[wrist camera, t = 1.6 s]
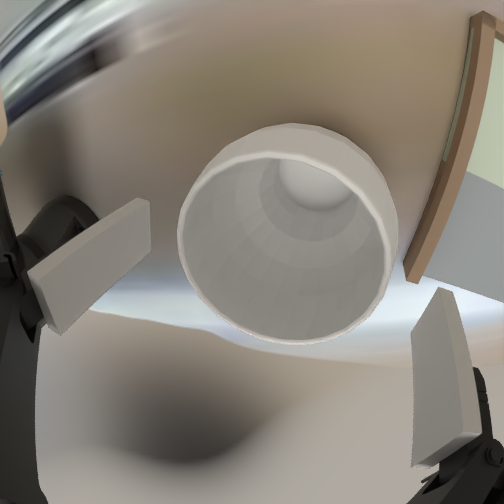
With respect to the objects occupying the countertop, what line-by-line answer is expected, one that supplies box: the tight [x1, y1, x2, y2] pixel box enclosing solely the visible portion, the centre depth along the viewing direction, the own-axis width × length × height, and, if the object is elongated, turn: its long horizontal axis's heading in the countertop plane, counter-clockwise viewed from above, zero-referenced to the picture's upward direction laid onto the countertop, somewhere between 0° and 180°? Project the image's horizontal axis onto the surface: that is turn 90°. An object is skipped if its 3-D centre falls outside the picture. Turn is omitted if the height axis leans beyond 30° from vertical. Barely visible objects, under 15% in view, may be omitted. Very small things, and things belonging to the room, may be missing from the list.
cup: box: [177, 123, 399, 345], centre depth 19 cm, size 11×11×15 cm
